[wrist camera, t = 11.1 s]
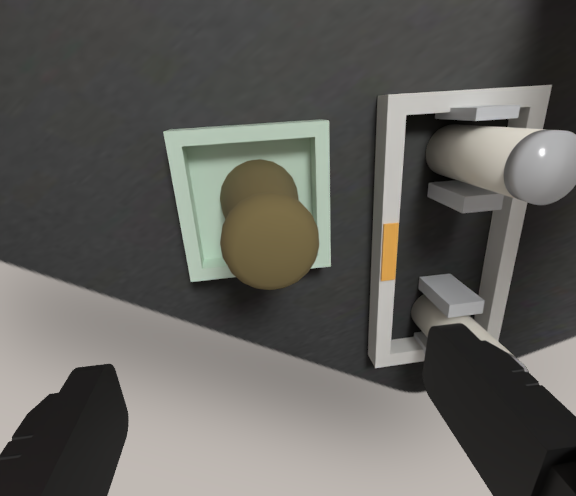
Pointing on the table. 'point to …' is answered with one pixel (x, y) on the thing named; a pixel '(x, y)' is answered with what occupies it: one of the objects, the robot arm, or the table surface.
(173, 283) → the table surface
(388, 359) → the white rectangular frame
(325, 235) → the tray
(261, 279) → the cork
